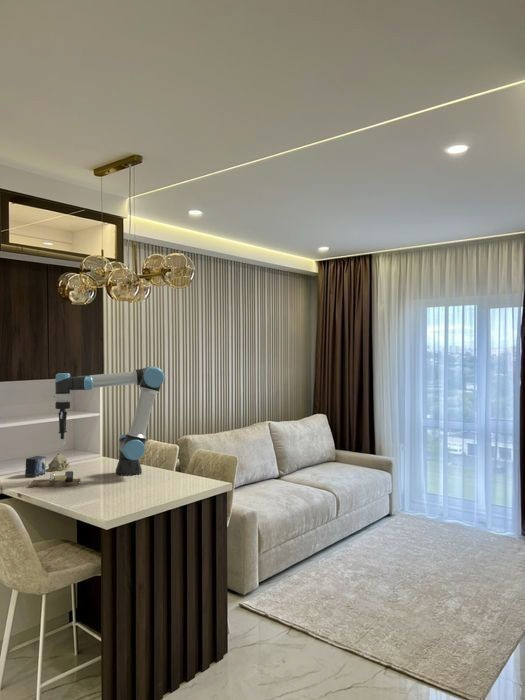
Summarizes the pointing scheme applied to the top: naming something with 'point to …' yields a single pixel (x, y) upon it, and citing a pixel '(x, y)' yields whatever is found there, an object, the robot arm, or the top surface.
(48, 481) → the dial board
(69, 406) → the robot arm
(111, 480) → the top surface
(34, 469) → the small box
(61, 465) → the ceramic model
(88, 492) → the top surface
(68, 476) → the lever
